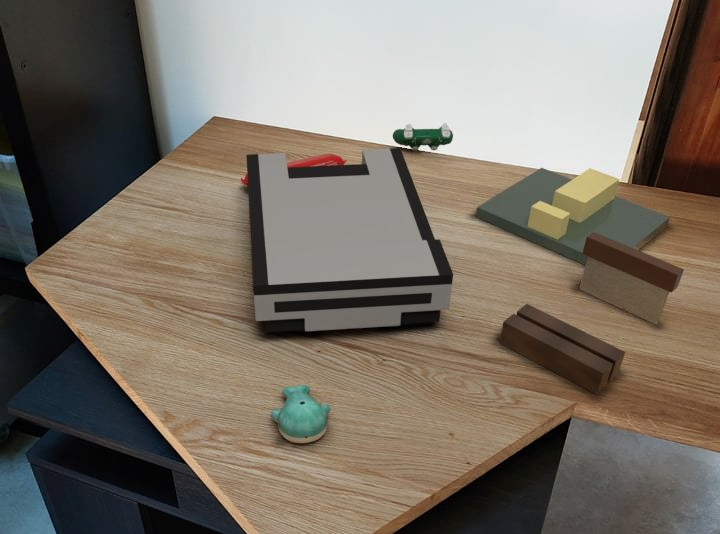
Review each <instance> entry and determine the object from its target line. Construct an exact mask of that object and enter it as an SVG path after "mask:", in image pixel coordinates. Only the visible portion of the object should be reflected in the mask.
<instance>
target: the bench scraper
mask: <svg viewBox="0 0 720 534" xmlns="http://www.w3.org/2000/svg"><path fill="white" fill-rule="evenodd" d="M582 254H583V255H585V256H588V258H587V261H586V265H584V269H583V272H582V277H581V281H580V283H579V284H580V285H579V288H578V290H579V291H582V292H584V293H586V294H588V295H590V296H593V297H595V298H596V299H599V300H601V301H603V302H605V303H607V304H609V305H612V306H614V307H617V308H619V309H621V310H622V311H625V312H627V313H630V314H631V315H634V316H636V317H638V318H640V319H642V320H644V321H647V322H649V323H652V324H653V325H656V326H658V324H659V322H660V319H661V317H662V313H663V311H664V309H665V305H666V303H667V300H668V297H669V294H670V293H673V292H674V291H675V290H676V289H677V288H678V287H679V284H680V282H681V279H682V276H683V273H684V271H685V269H684V268H682V267H679V266H678V265H675V264H672V263H670V262H668V261H665V260H662V259H660V258H659V257H655V256H653V255H650V254H648V253H647V252H643V251H641V250H640V249H639V250H636V249H634V248H631V247H629V246H627V245H624V244H622V243H619V242H617V241H614V240H612V239H610V238H607V237H605V236H602V235H600V234H598V233H595V232H592V233H591V234H590V235H588V236H587V238H586V242H585V245H584V249H583V253H582Z"/></svg>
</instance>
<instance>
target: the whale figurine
mask: <svg viewBox="0 0 720 534" xmlns="http://www.w3.org/2000/svg"><path fill="white" fill-rule="evenodd" d="M310 390H311V389H310V386H309V385H306V384H303V385H297V386H286V387H283V388H282V390H281V394H282V395H283V397H284V398H285V399H286V400H285V402H284V404H283V406H282V407H281V408H280V409H279V408H278V409H273V410H272V411H271V413H270V418H271V419H272V420H273V421H274V422H276V423H277V426H278V430H279V433H280V434H281V436H282V437H283V438H284V439H285V440H287V441H289V442H291V443H294V444H295V443H296V444H307V443H312V442H316V441H317V440H319V439H321V438H322V437H323V436H324V435H325V433H326V431H327V428H328V415H329V414H330V412H331V407H330V406H329V405H328V404H327V403H321V404H320V403H319V402H318V401H317V400H315V398H313V397H312V396H311V395H309V394H310Z"/></svg>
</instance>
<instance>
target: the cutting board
mask: <svg viewBox="0 0 720 534" xmlns="http://www.w3.org/2000/svg"><path fill="white" fill-rule="evenodd" d="M573 179H574V178H570V177H568V176H565V175H562V174H560V173H557V172H554V171H552V170H549V169H546V168H544V167H540V168H538V169H536V171H533V172H532V173H530V174H529V175H527V176H526V177H523V178H522V179H520V180H519V181H517V182H516V183H514V184H512V185H511V186H509V187H507V188H506V189H504V190H502V191H500V192H499V193H498V194H496V195H494V196H492V197H491V198H489V199H488V200H486V201H484V202H483V203H481V204H479V205H477V206H476V210H475V217H476V218H478V219H480V220H482V221H485V222H486V223H488V224H491V225H493V226H496V227H497V228H500V229H502V230H505V231H507V232H510V233H512V234H514V235H516V236H518V237H521V238H523V239H525V240H528V241H530V242H532V243H534V244H536V245H539V246H541V247H543V248H545V249H548V250H550V251H553V252H555V253H557V254H559V255H561V256H564V257H566V258H568V259H570V260H572V261H575V262H578V263H579V264H582V265H584V266H585V265H586V261H587V258H588V256H585V255H583V254H582V253H583V249H584V245H585V242H586V238H587V236H588V235H590V234H591V233H592V232H595V233H598V234H600V235H602V236H605V237H607V238H610V239H612V240H614V241H617V242H619V243H622V244H624V245H627V246H629V247H631V248H634V249H636V250H639V251H640V249H642V248H643V247H644V246H645V245H647V244H648V243H649V242H650V241H651V240H652V239H654V238H655V237H656V236H657V235H659V234H660V233H661V232H662V231H664V230H665V229H666V228H668V225H669V222H670V220H671V216H669V215H667V214H664V213H662V212H659V211H657V210H654V209H651V208H649V207H645V206H643V205H640V204H638V203H635V202H632V201H631V200H627V199H626V198H623V197H620V196H617V195H615V197H614V199H613V200H612V201H610V202H609V203H608V204H606V205H605V206H603V207H602V208H601V209H599V210H598V211H596V212H595V213H594V214H592V215H591V216H589V217H588V218H587V219H585V220H584V221H582V222H581V223H578V222H576V221H573V220H571V219H569V221H568V225H567V230H566V234H565V235H563V236H562V237H560V238H559V239H558V240H557V239H554V238H552V237H550V236H548V235H545V234H543V233H541V232H538V231H536V230H534V229H531V228H529V227H527V226H528V221H529V216H530V211H531V206H533V205H534V204H536V203H537V202H539V201H542V202H544V203H546V204H549V205H551V206H552V203H553V198H554V193H555V191H556V190H557V189H559V188H560V187H562V186H564V185H565V184H567V183H568V182H570V181H571V180H573Z"/></svg>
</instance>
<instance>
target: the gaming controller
mask: <svg viewBox="0 0 720 534" xmlns="http://www.w3.org/2000/svg"><path fill="white" fill-rule="evenodd" d="M392 139H393V141H394V142H395V143H396V144H397V145H400V146H404V147H410V149H411V150H412V151H413V152H415V151H419V149H420V147H421V146H428V147H429V148H430V150H431V151H437V150H438V148H439V147H440V146H447V145H449V144H452V142H453V139H454V132H453V131H452V130H451V129H450V126H449V124H448V123H446V122H445V123H443V124H441V126H440V127H439V128H414V127H413V125H412V124H411V123H407V124H406V125H405V128H397V129H396V130H394V132H393V133H392Z"/></svg>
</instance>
